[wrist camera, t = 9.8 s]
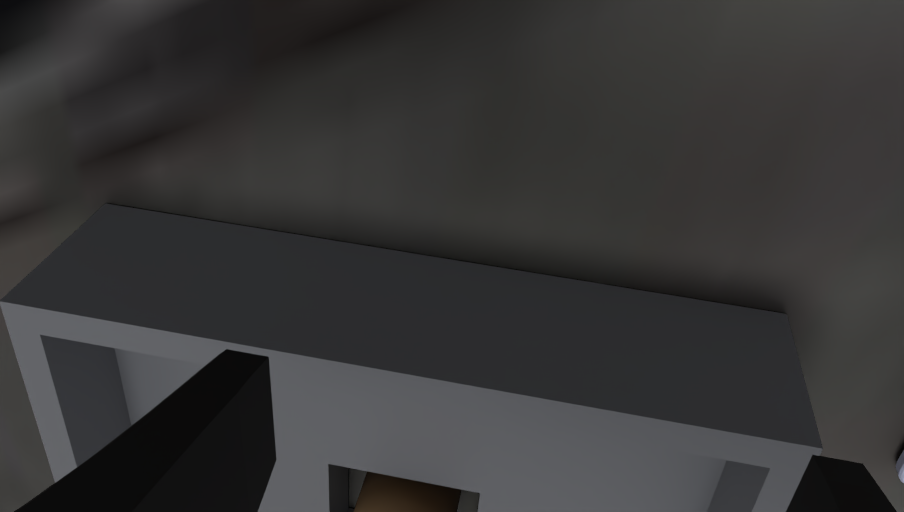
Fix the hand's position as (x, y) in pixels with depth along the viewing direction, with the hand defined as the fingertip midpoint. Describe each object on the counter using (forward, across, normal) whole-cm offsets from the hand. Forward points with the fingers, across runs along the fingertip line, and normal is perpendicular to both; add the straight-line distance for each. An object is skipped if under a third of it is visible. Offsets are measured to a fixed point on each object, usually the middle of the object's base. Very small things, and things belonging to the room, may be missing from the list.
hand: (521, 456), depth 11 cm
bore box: (+9, +3, +12) cm, 16 cm away
